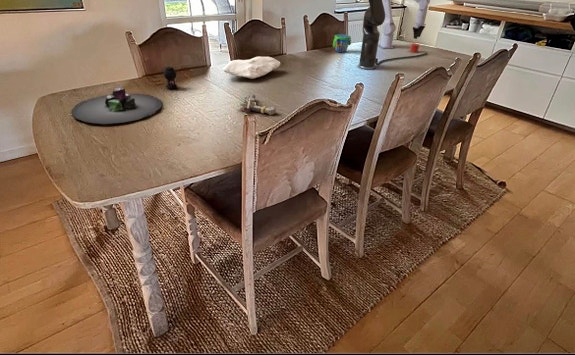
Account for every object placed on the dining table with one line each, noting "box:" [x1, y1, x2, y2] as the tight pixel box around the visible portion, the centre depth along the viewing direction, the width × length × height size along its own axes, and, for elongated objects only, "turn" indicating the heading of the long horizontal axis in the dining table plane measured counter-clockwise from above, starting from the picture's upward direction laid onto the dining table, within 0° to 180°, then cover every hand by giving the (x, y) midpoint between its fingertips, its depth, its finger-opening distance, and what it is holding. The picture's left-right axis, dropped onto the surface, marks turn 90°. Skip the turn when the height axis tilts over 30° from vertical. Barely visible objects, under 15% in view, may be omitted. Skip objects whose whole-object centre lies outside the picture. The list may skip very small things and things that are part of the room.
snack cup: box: [332, 34, 352, 53], centre depth 246 cm, size 16×10×10 cm
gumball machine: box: [161, 66, 179, 90], centre depth 173 cm, size 7×6×10 cm
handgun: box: [239, 93, 277, 116], centre depth 158 cm, size 3×18×15 cm
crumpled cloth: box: [222, 56, 281, 80], centre depth 195 cm, size 24×35×9 cm
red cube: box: [409, 43, 420, 54], centre depth 255 cm, size 5×5×5 cm
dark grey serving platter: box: [70, 86, 163, 125], centre depth 150 cm, size 35×35×9 cm
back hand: (416, 37), depth 252 cm, fingers open, 7 cm apart
